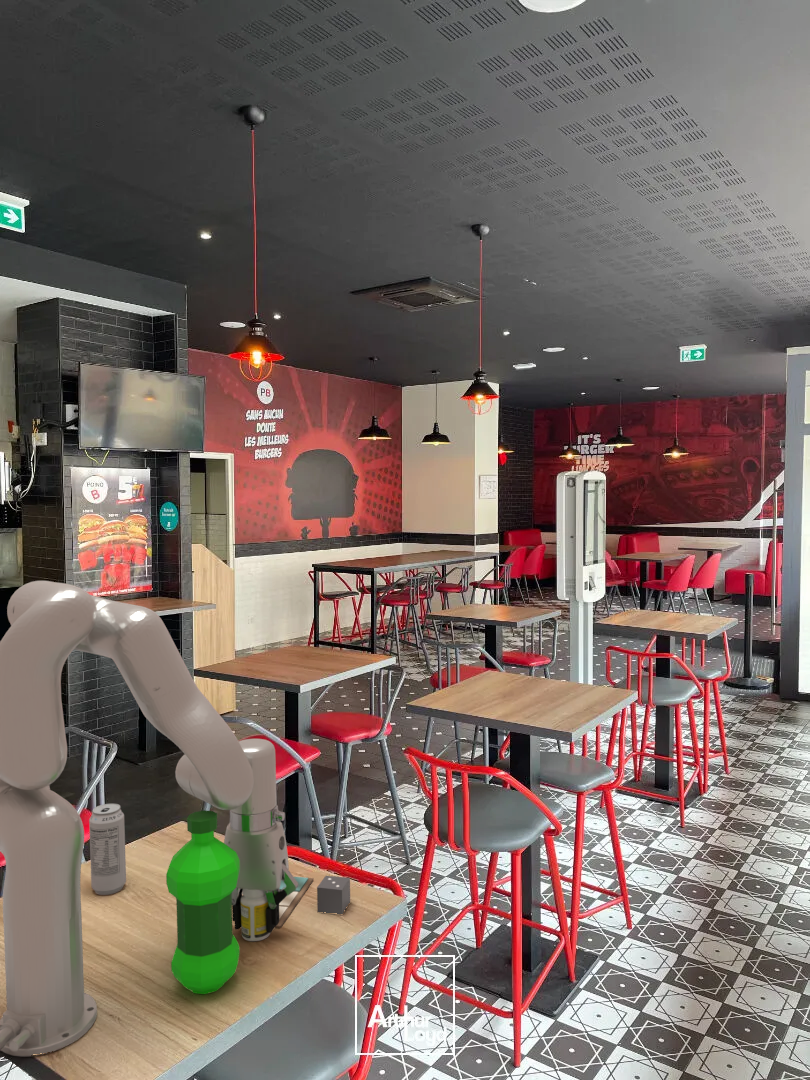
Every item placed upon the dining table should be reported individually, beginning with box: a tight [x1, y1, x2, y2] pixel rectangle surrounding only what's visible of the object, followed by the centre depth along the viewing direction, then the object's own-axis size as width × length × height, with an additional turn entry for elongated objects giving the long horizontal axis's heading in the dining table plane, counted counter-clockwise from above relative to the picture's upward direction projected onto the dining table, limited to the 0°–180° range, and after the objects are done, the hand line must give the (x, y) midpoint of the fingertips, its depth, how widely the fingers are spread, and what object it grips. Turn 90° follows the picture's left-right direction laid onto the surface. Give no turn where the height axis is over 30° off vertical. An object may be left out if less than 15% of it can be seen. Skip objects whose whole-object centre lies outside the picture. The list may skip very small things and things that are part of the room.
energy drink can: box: [88, 803, 127, 896], centre depth 147 cm, size 6×6×15 cm
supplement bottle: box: [240, 889, 271, 942], centre depth 130 cm, size 5×5×8 cm
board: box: [274, 876, 315, 929], centre depth 141 cm, size 17×7×1 cm, turn 168°
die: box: [316, 875, 351, 915], centre depth 139 cm, size 4×4×5 cm
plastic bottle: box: [165, 809, 240, 995], centre depth 116 cm, size 10×10×25 cm
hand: (256, 925), depth 130 cm, fingers closed on supplement bottle, 4 cm apart
